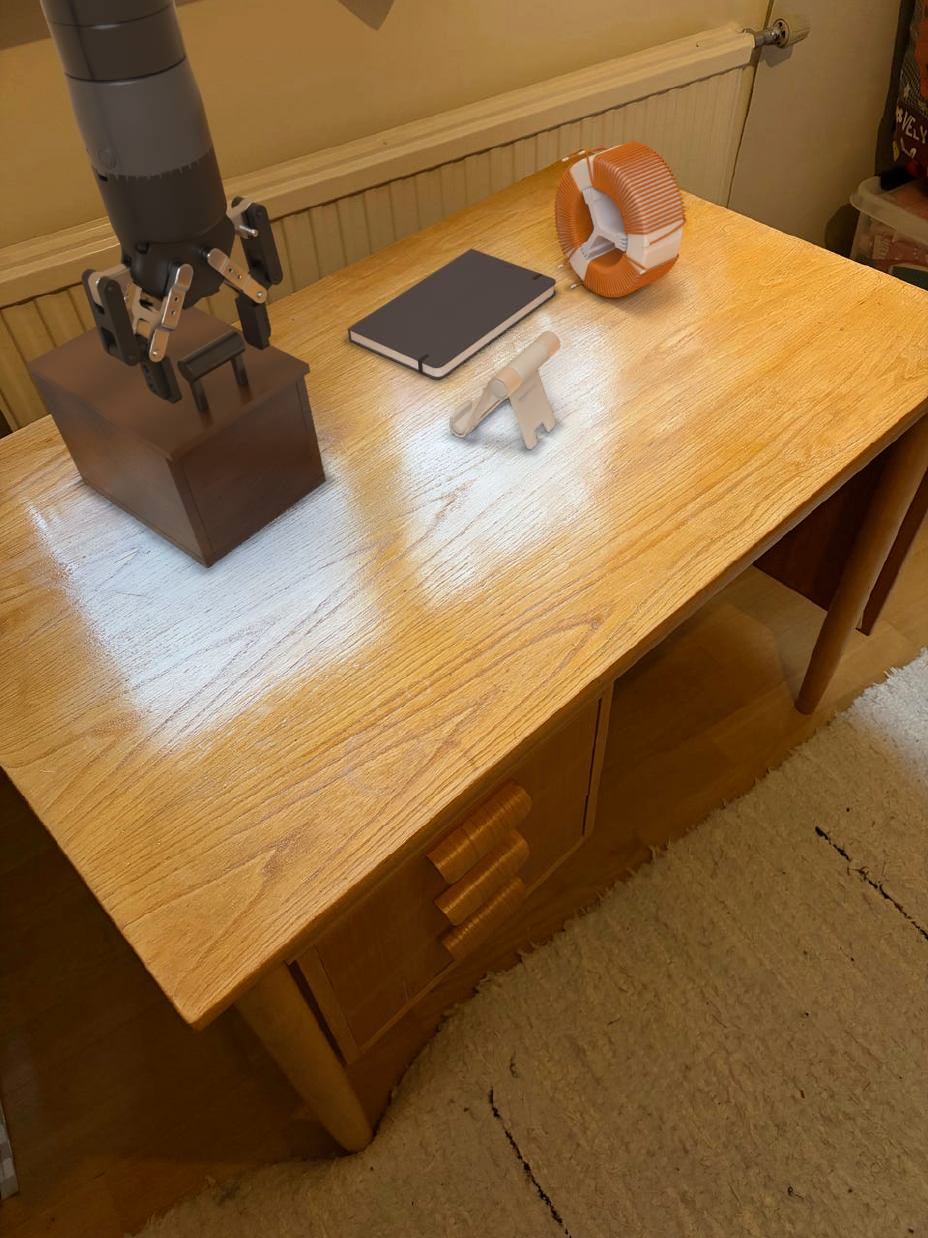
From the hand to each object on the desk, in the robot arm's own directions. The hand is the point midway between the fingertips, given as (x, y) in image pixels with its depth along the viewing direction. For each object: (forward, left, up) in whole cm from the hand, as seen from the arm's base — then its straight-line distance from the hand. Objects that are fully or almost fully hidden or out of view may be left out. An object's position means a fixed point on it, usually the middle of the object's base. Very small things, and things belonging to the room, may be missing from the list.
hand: (215, 370), depth 66 cm
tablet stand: (+24, +10, -15) cm, 30 cm away
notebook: (+21, +30, -15) cm, 39 cm away
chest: (-5, +6, -15) cm, 17 cm away
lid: (-5, +5, -3) cm, 8 cm away
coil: (+39, +33, -15) cm, 53 cm away
